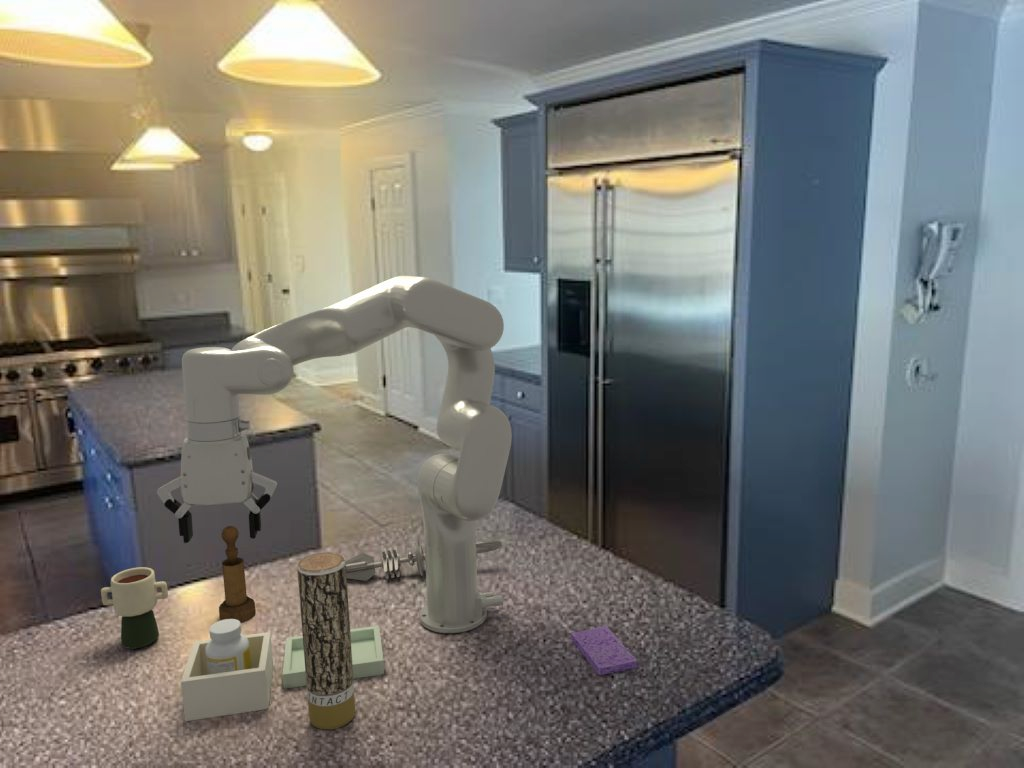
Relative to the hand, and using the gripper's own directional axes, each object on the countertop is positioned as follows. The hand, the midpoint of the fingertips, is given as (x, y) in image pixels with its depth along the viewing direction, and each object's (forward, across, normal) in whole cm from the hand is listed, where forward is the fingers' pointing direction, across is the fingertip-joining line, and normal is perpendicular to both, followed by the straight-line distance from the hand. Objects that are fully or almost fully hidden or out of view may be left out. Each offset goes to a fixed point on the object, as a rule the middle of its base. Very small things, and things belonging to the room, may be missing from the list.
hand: (221, 537), depth 120 cm
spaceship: (+25, -33, -36) cm, 55 cm away
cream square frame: (+26, 0, +1) cm, 26 cm away
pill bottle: (+26, 0, +1) cm, 26 cm away
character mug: (+26, +19, -19) cm, 38 cm away
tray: (+25, -16, -5) cm, 30 cm away
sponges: (+25, -61, +2) cm, 66 cm away
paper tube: (+26, -16, +11) cm, 32 cm away
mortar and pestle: (+26, +3, -26) cm, 37 cm away
